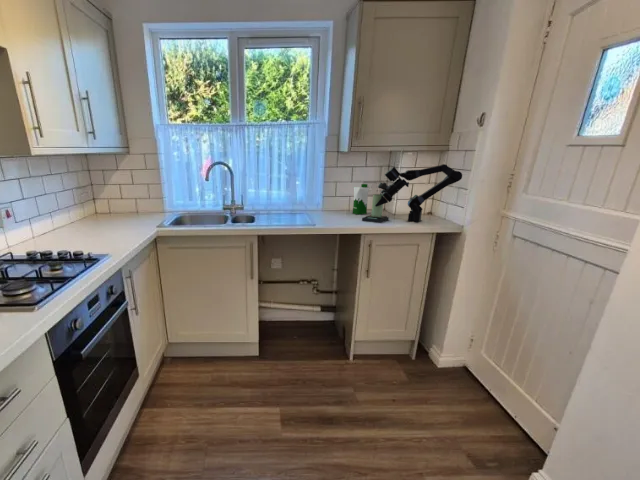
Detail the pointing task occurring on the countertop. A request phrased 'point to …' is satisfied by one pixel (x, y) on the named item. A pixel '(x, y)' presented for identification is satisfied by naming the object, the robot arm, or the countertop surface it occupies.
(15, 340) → the countertop surface
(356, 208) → the milk carton
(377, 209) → the tumbler
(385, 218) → the scale
